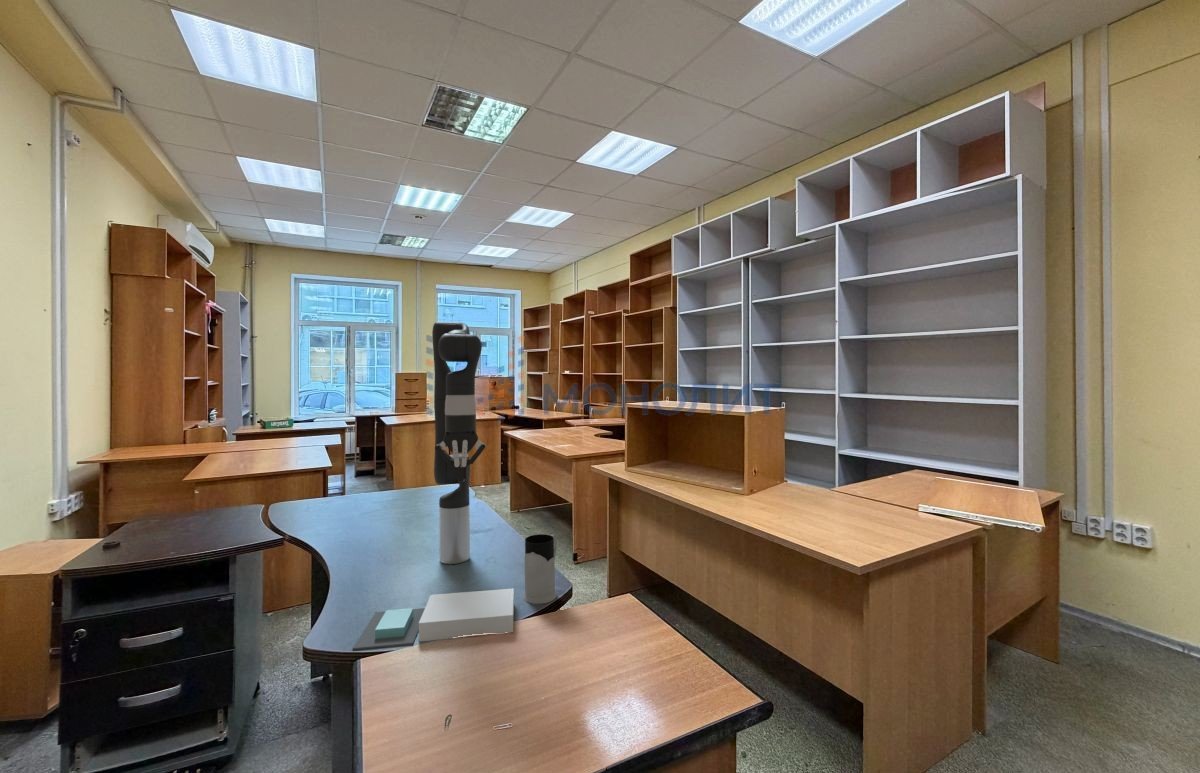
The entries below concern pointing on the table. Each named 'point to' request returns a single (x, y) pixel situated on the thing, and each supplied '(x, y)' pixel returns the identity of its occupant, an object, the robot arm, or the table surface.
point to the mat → (369, 640)
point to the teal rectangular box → (394, 623)
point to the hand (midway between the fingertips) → (461, 481)
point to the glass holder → (540, 568)
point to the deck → (467, 614)
